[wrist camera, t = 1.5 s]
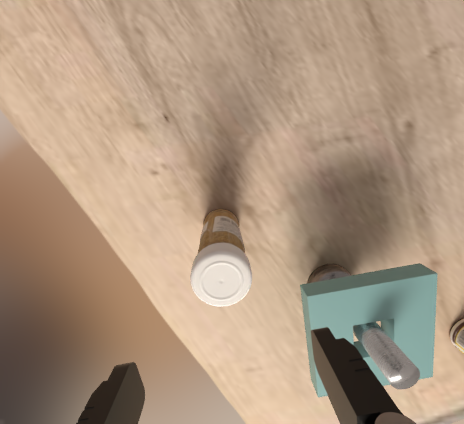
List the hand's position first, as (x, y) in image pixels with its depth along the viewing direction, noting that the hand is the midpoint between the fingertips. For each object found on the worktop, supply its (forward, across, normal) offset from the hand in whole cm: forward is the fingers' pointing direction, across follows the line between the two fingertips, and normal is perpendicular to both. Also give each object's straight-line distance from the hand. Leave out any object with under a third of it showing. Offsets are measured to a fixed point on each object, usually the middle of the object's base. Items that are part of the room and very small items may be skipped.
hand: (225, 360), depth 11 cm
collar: (+12, -13, +11) cm, 21 cm away
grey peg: (+20, -13, +11) cm, 26 cm away
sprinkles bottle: (+20, 0, 0) cm, 20 cm away
